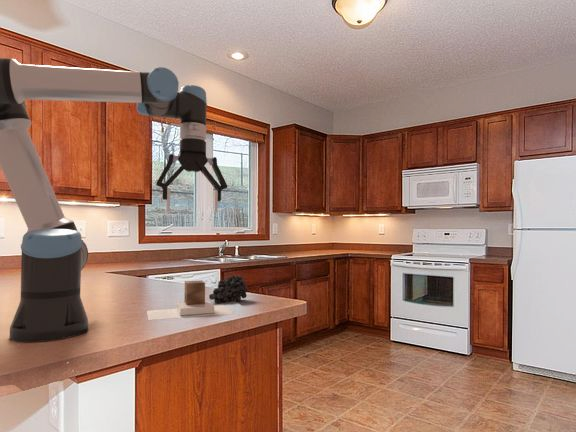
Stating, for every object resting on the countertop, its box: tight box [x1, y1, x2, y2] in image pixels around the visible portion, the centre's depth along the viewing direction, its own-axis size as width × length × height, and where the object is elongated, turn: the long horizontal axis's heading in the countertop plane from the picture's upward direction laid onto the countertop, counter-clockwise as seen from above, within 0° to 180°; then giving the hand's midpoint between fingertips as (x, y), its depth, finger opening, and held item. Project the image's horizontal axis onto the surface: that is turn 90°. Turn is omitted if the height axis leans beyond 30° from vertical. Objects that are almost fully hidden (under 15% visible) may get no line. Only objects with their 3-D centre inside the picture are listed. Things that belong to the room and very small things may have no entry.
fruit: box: [208, 275, 249, 304], centre depth 127 cm, size 9×8×15 cm
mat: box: [146, 305, 234, 321], centre depth 108 cm, size 22×12×1 cm, turn 112°
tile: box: [176, 300, 215, 316], centre depth 109 cm, size 2×9×9 cm
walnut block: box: [183, 279, 206, 305], centre depth 111 cm, size 5×5×6 cm
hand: (192, 212), depth 114 cm, fingers open, 13 cm apart
